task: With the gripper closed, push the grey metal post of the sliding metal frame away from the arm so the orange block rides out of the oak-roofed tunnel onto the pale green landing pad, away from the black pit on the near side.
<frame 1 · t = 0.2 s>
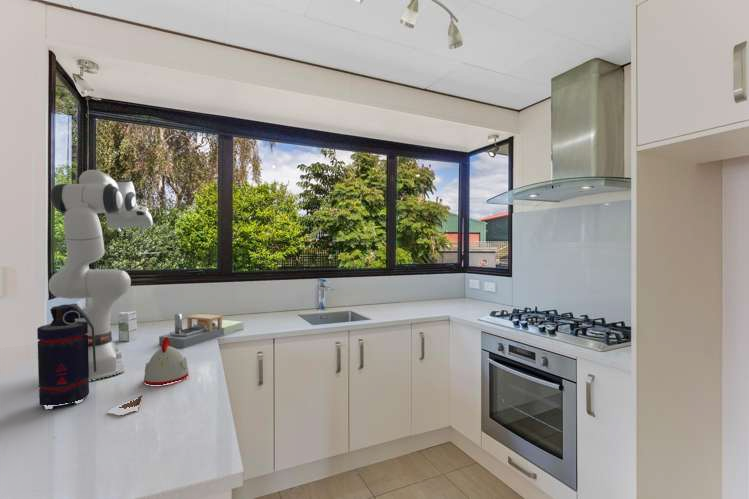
hand: (132, 234, 195), 54 cm above the countertop, tool tilted 30°, fingers open, 8 cm apart
slider: (194, 320, 188), point 9 cm above the countertop, slide at 0.0 cm
tunnel deck: (204, 336, 194), on the countertop
grey dome: (166, 379, 133), on the countertop
shard: (124, 410, 109), on the countertop
syrup box: (128, 340, 186), on the countertop
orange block: (204, 328, 193), point 4 cm above the countertop, touching tunnel deck
grenade: (69, 401, 115), on the countertop
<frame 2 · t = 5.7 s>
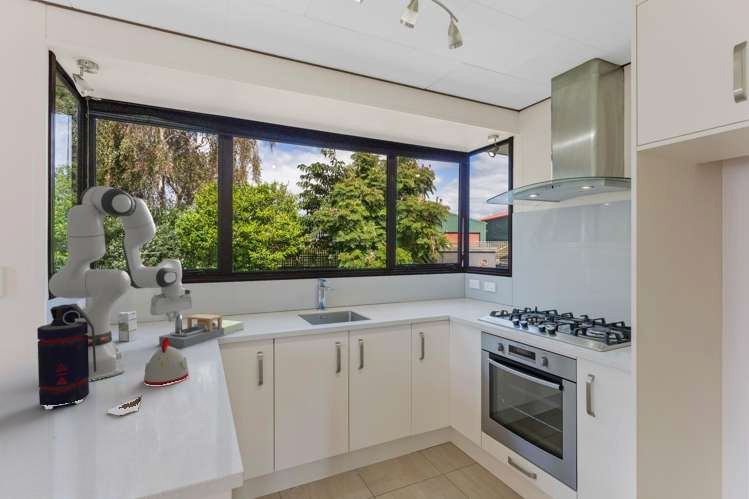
hand: (172, 321, 175), 12 cm above the countertop, tool pointing down, fingers closed
slider: (195, 320, 188), point 9 cm above the countertop, slide at 0.2 cm, touching gripper
everything else where it was.
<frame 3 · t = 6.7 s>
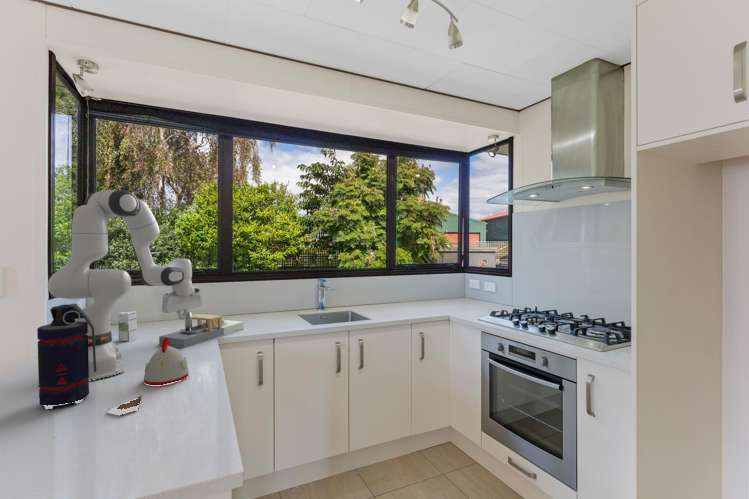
hand: (182, 318, 181), 12 cm above the countertop, tool pointing down, fingers closed
slider: (204, 318, 193), point 9 cm above the countertop, slide at 5.9 cm, touching gripper
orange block: (213, 326, 199), point 4 cm above the countertop, touching tunnel deck
everything else where it was.
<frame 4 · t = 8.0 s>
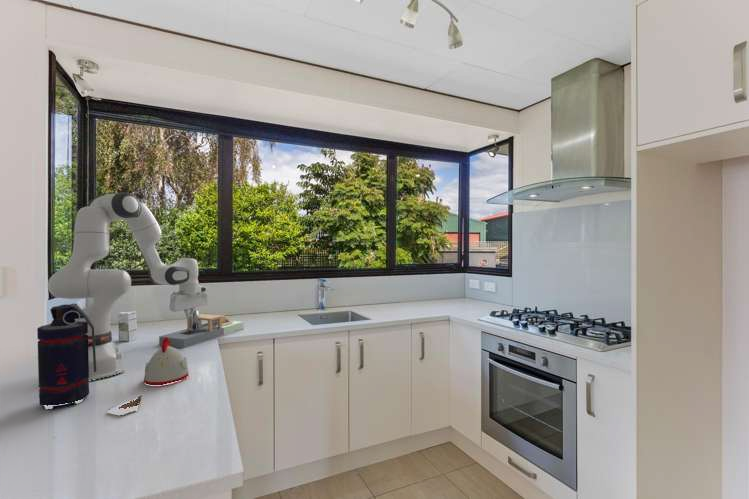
hand: (189, 317, 185), 12 cm above the countertop, tool pointing down, fingers closed
slider: (210, 316, 197), point 9 cm above the countertop, slide at 10.0 cm, touching gripper, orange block
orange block: (218, 324, 203), point 4 cm above the countertop, touching slider, tunnel deck
everything else where it was.
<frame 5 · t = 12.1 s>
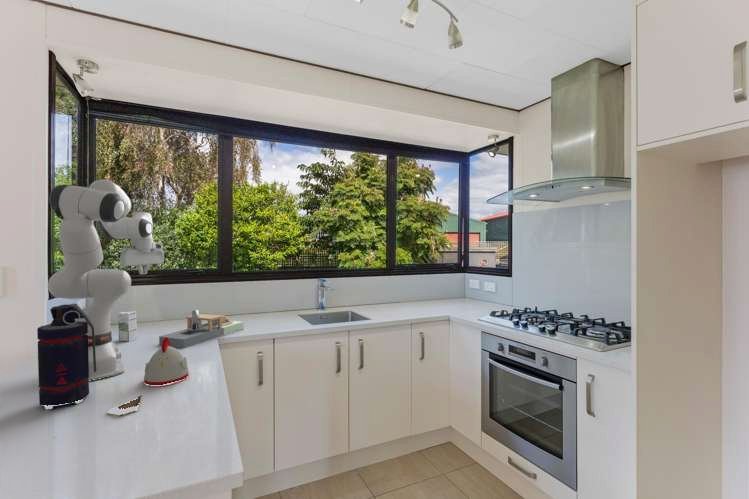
hand: (143, 274, 178), 34 cm above the countertop, tool pointing down, fingers closed
slider: (210, 316, 197), point 9 cm above the countertop, slide at 10.0 cm
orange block: (218, 324, 203), point 4 cm above the countertop, touching tunnel deck
everything else where it was.
at the end: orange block inside the target area (1.1 cm from its centre), point 4.0 cm above the countertop; slider slide at 10.0 cm; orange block tilted 0° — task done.
